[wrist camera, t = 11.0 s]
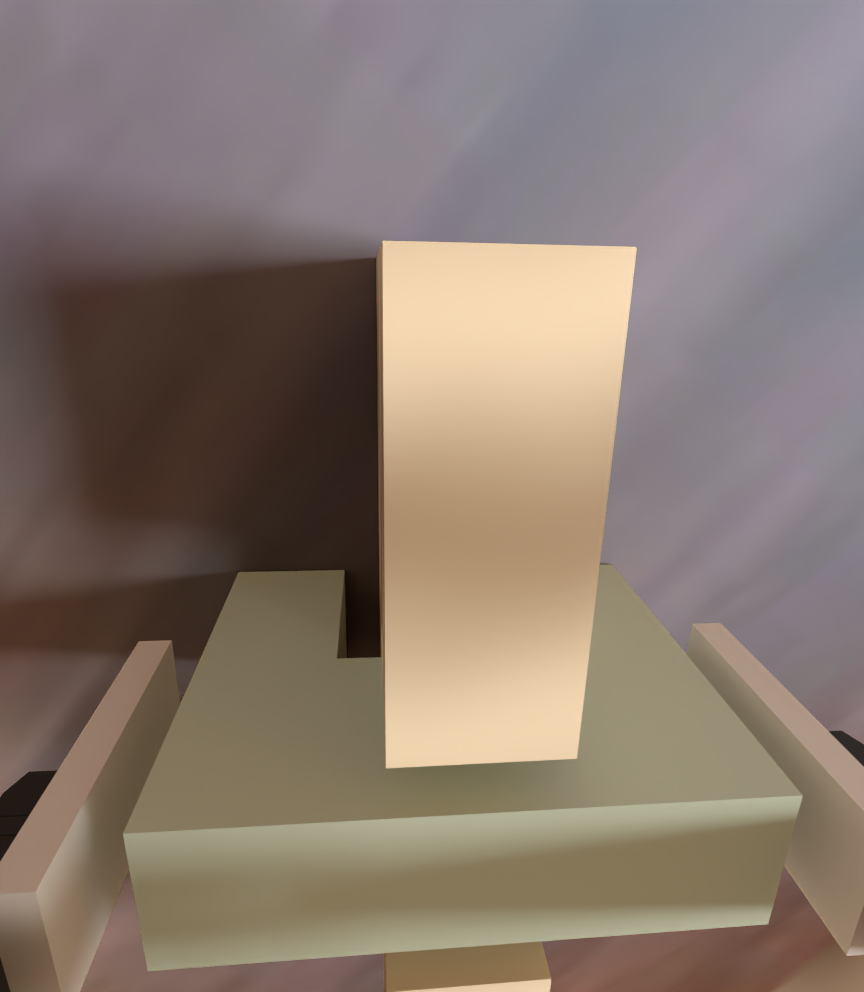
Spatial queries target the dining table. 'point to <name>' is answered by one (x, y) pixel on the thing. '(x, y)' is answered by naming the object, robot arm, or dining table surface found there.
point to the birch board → (491, 518)
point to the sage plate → (440, 802)
